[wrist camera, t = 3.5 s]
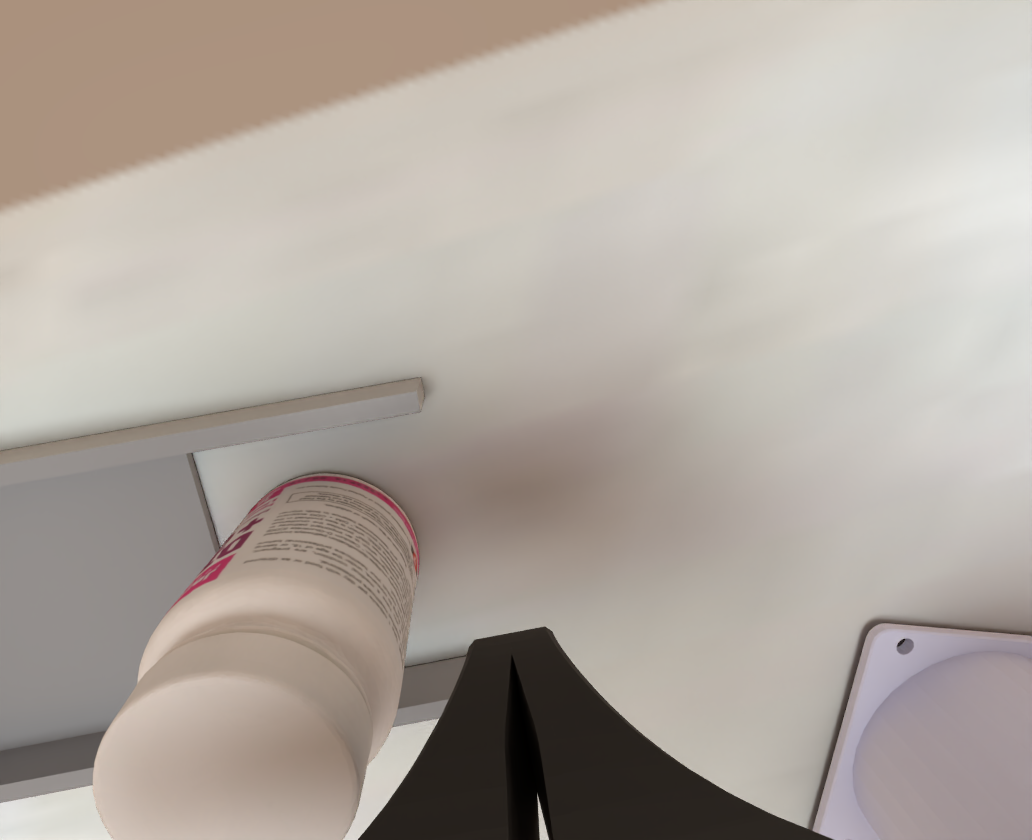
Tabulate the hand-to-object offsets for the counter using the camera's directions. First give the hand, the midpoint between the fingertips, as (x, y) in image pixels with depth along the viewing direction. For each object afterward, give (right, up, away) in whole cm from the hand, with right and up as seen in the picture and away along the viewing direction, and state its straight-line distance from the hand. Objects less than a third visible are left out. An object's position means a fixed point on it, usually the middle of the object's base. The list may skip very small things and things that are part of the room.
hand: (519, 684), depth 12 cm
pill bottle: (-5, +1, +7) cm, 9 cm away
